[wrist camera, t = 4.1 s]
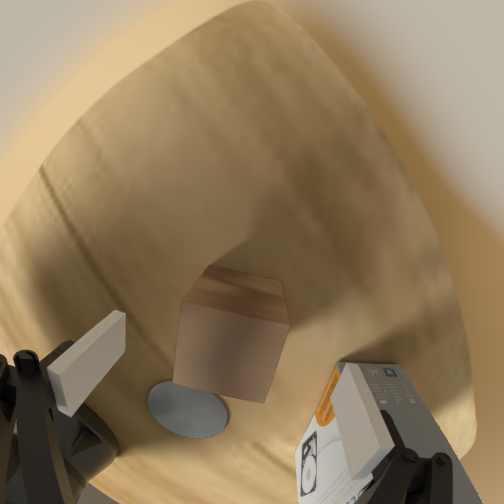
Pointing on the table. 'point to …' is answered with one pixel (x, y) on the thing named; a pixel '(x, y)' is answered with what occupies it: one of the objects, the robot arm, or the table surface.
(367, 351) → the table surface
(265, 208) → the table surface
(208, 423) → the slate coaster
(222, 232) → the table surface
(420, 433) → the hard drive box
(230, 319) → the walnut block
